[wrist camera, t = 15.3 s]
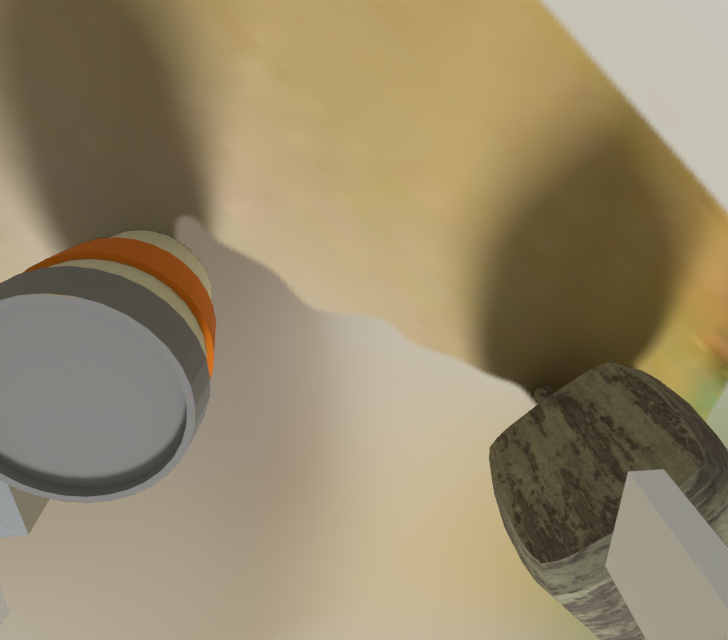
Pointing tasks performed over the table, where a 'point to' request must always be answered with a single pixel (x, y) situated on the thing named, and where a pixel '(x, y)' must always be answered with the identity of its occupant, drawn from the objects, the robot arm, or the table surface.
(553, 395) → the tabletop clock
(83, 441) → the reusable coffee cup
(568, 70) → the table surface
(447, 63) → the table surface
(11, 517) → the grey tray
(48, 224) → the table surface
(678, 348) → the table surface
